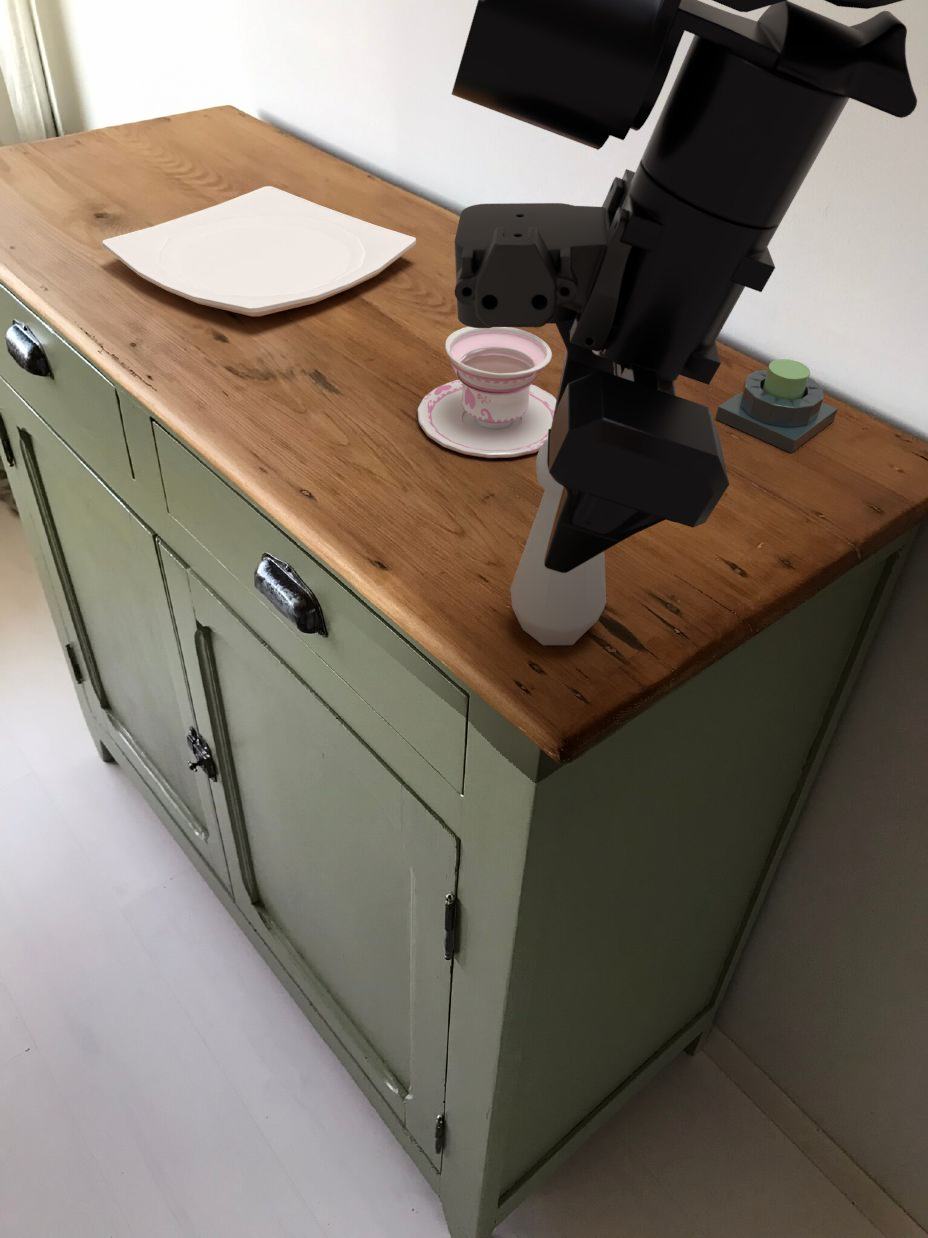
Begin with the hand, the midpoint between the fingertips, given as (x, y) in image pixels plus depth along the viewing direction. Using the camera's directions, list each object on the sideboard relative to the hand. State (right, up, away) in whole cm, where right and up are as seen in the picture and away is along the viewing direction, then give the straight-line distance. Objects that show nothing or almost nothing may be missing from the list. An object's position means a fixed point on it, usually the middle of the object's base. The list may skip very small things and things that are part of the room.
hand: (555, 507), depth 46 cm
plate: (-25, +30, +51) cm, 65 cm away
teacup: (-2, +11, +31) cm, 33 cm away
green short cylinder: (+21, +13, +31) cm, 39 cm away
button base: (+21, +11, +32) cm, 40 cm away
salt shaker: (+1, -6, +14) cm, 15 cm away
